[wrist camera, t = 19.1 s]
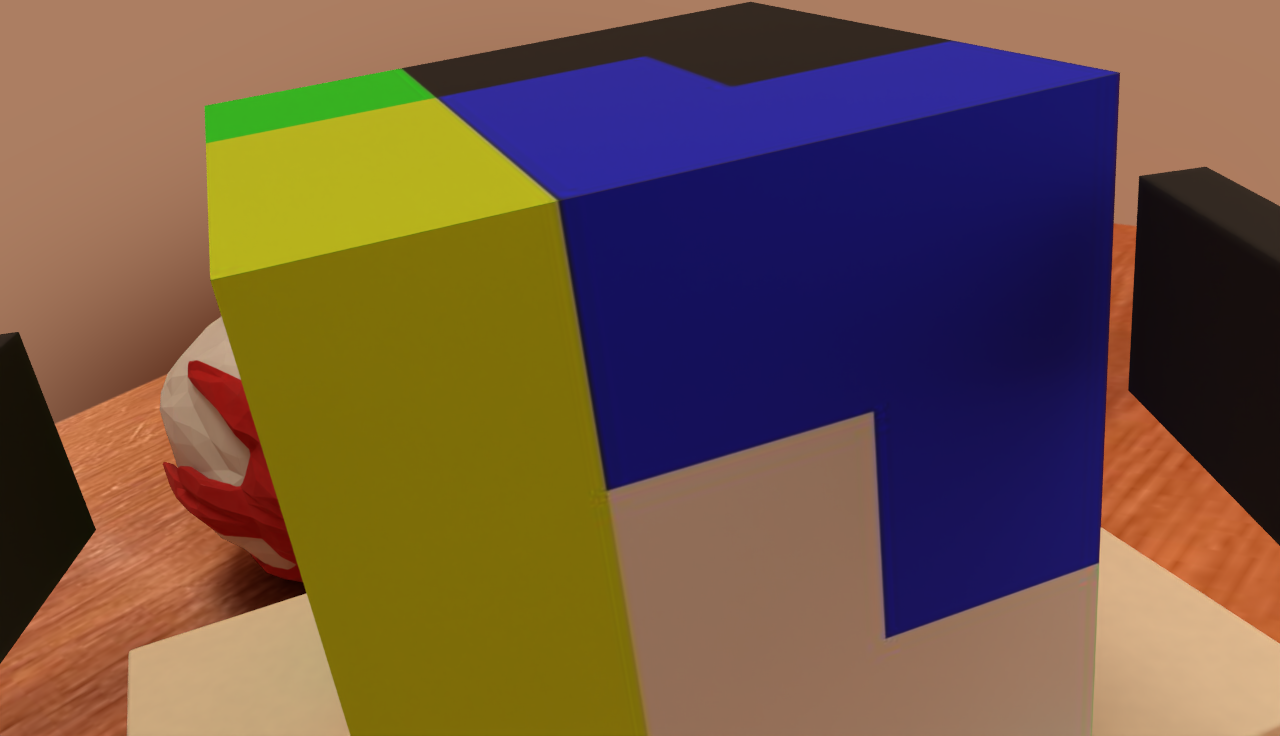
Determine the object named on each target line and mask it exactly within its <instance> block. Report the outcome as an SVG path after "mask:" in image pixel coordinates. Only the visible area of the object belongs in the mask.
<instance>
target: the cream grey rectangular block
mask: <svg viewBox="0 0 1280 736" xmlns="http://www.w3.org/2000/svg"><path fill="white" fill-rule="evenodd" d="M127 736H350V733H349V730H348V726H347V723H346V720H345V717H344V713H343V710H342V707H341V703H340V700H339V697H338V694H337V690H336V687H335V684H334V681H333V677H332V674H331V671H330V668H329V664H328V661H327V658H326V655H325V651H324V648H323V645H322V642H321V638H320V635H319V632H318V629H317V625H316V622H315V619H314V616H313V612H312V609H311V606H310V603H309V599H308V596H307V593H306V594H303V595H300V596H297V597H294V598H290V599H287V600H284V601H281V602H278V603H275V604H272V605H269V606H266V607H263V608H260V609H256V610H253V611H250V612H247V613H244V614H241V615H238V616H235V617H232V618H229V619H225V620H222V621H219V622H216V623H213V624H210V625H207V626H204V627H201V628H198V629H195V630H191V631H188V632H185V633H182V634H179V635H176V636H173V637H170V638H167V639H164V640H161V641H157V642H154V643H151V644H148V645H145V646H142V647H139V648H136V649H133V650H131V651H130V652H129V655H128V703H127ZM1092 736H1280V644H1279V643H1278V642H1276V641H1275V640H1273V639H1272V638H1270V637H1268V636H1267V635H1265V634H1264V633H1262V632H1261V631H1259V630H1258V629H1256V628H1255V627H1253V626H1252V625H1250V624H1249V623H1247V622H1245V621H1244V620H1242V619H1241V618H1239V617H1238V616H1236V615H1235V614H1233V613H1232V612H1230V611H1229V610H1227V609H1226V608H1224V607H1223V606H1221V605H1219V604H1218V603H1216V602H1215V601H1213V600H1212V599H1210V598H1209V597H1207V596H1206V595H1204V594H1203V593H1201V592H1200V591H1198V590H1196V589H1195V588H1193V587H1192V586H1190V585H1189V584H1187V583H1186V582H1184V581H1183V580H1181V579H1180V578H1178V577H1177V576H1175V575H1173V574H1172V573H1170V572H1169V571H1167V570H1166V569H1164V568H1163V567H1161V566H1160V565H1158V564H1157V563H1155V562H1154V561H1152V560H1150V559H1149V558H1147V557H1146V556H1144V555H1143V554H1141V553H1140V552H1138V551H1137V550H1135V549H1134V548H1132V547H1131V546H1129V545H1127V544H1126V543H1124V542H1123V541H1121V540H1120V539H1118V538H1117V537H1115V536H1114V535H1112V534H1111V533H1109V532H1108V531H1106V530H1104V529H1103V528H1101V532H1100V556H1099V580H1098V604H1097V627H1096V651H1095V675H1094V699H1093V723H1092Z"/></svg>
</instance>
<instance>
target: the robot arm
mask: <svg viewBox="0 0 1280 736" xmlns="http://www.w3.org/2000/svg"><path fill="white" fill-rule="evenodd" d="M1137 213H1138V214H1137V231H1136V251H1135V271H1134V291H1133V310H1132V330H1131V350H1130V370H1129V389H1128V390H1129V391H1130V392H1131V393H1132V394H1133V395H1134V396H1135V397H1136V398H1137V399H1138V400H1139V402H1140V403H1141V404H1142V405H1143V406H1144V407H1145V408H1146V409H1147V410H1148V411H1149V412H1150V413H1151V414H1152V415H1153V416H1154V417H1155V418H1156V419H1157V420H1158V421H1159V422H1160V423H1161V424H1162V425H1163V426H1164V427H1165V428H1166V429H1167V430H1168V431H1169V432H1170V433H1171V434H1172V435H1173V436H1174V437H1175V439H1176V440H1177V441H1178V442H1179V443H1180V444H1181V445H1182V446H1183V447H1184V448H1185V449H1186V450H1187V451H1188V452H1189V453H1190V454H1191V455H1192V456H1193V457H1194V458H1195V459H1196V460H1197V461H1198V462H1199V463H1200V464H1201V465H1202V466H1203V467H1204V468H1205V469H1206V470H1207V471H1208V472H1209V473H1210V475H1211V476H1212V477H1213V478H1214V479H1215V480H1216V481H1217V482H1218V483H1219V484H1220V485H1221V486H1222V487H1223V488H1224V489H1225V490H1226V491H1227V492H1228V493H1229V494H1230V495H1231V496H1232V497H1233V498H1234V499H1235V500H1236V501H1237V502H1238V503H1239V504H1240V505H1241V506H1242V507H1243V508H1244V509H1245V510H1246V512H1247V513H1248V514H1249V515H1250V516H1251V517H1252V518H1253V519H1254V520H1255V521H1256V522H1257V523H1258V524H1259V525H1260V526H1261V527H1262V528H1263V529H1264V530H1265V531H1266V532H1267V533H1268V534H1269V535H1270V536H1271V537H1272V538H1273V539H1274V540H1275V541H1276V542H1277V543H1278V544H1279V545H1280V206H1278V205H1276V204H1275V203H1273V202H1271V201H1269V200H1267V199H1265V198H1263V197H1262V196H1260V195H1257V194H1256V193H1254V192H1252V191H1250V190H1248V189H1246V188H1245V187H1243V186H1241V185H1239V184H1237V183H1235V182H1234V181H1232V180H1230V179H1228V178H1226V177H1224V176H1222V175H1220V174H1219V173H1217V172H1215V171H1213V170H1211V169H1209V168H1207V167H1201V168H1195V169H1187V170H1180V171H1172V172H1165V173H1158V174H1152V175H1144V176H1139V193H1138V212H1137ZM95 531H96V529H95V526H94V524H93V521H92V519H91V516H90V513H89V511H88V508H87V506H86V503H85V501H84V498H83V496H82V493H81V490H80V488H79V485H78V483H77V480H76V478H75V475H74V472H73V470H72V467H71V465H70V462H69V460H68V457H67V455H66V452H65V449H64V447H63V444H62V442H61V439H60V437H59V434H58V432H57V429H56V426H55V424H54V421H53V419H52V416H51V414H50V411H49V409H48V406H47V403H46V401H45V398H44V396H43V393H42V391H41V388H40V385H39V383H38V380H37V378H36V375H35V373H34V370H33V368H32V365H31V362H30V360H29V358H28V355H27V352H26V350H25V347H24V345H23V342H22V339H21V337H20V334H19V332H15V333H8V334H1V335H0V663H1V662H2V661H3V659H4V658H5V656H6V655H7V654H8V652H9V651H10V649H11V648H12V647H13V645H14V644H15V642H16V641H17V640H18V638H19V637H20V635H21V634H22V633H23V631H24V630H25V628H26V627H27V626H28V624H29V623H30V621H31V620H32V619H33V617H34V616H35V614H36V613H37V612H38V610H39V609H40V607H41V606H42V605H43V603H44V602H45V600H46V599H47V598H48V596H49V595H50V593H51V592H52V591H53V589H54V588H55V586H56V585H57V584H58V582H59V581H60V579H61V578H62V577H63V575H64V574H65V573H66V571H67V570H68V568H69V567H70V566H71V564H72V563H73V561H74V560H75V559H76V557H77V556H78V554H79V553H80V552H81V550H82V549H83V547H84V546H85V545H86V543H87V542H88V540H89V539H90V538H91V536H92V535H93V533H94V532H95Z"/></svg>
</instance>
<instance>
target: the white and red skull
mask: <svg viewBox="0 0 1280 736" xmlns="http://www.w3.org/2000/svg"><path fill="white" fill-rule="evenodd" d="M160 412H161V416H162V419H163V423H164V426H165V429H166V433H167V436H168V439H169V442H170V444H171V447H172V450H173V454H174V457H175V460H176V463H177V466H178V468H177V467H176V466H175V465H174V464H170V463H167V462H164V463H163V466H164V469H165V472H166V475H167V478H168V481H169V484H170V487H171V489H172V491H173V492H174V494H175V496H176V498H177V499H178V500H179V501H180V502H181V503H182V504H183V506H184V507H185V508H186V509H187V510H188V511H189V512H190V513H192V514H193V515H194V516H196V517H197V518H198V519H200V520H201V521H202V522H204V523H205V524H206V525H208V526H209V527H211V528H212V529H213V530H214V531H215V532H216V533H217V534H218V535H219V536H220V537H221V538H223V539H225V540H227V541H229V542H231V543H233V544H235V545H238V546H240V547H242V548H244V549H245V550H247V551H248V552H249V553H250V554H251V555H252V557H253V558H254V559H255V561H256V562H257V563H258V564H259V565H260V566H261V567H262V568H263V569H264V570H265V571H266V572H267V573H269V574H272V575H274V576H277V577H280V578H283V579H287V580H293V581H299V582H303V580H302V577H301V573H300V570H299V567H298V564H297V560H296V557H295V554H294V551H293V547H292V544H291V541H290V538H289V534H288V531H287V528H286V525H285V521H284V518H283V515H282V512H281V508H280V505H279V502H278V499H277V495H276V492H275V489H274V486H273V482H272V479H271V476H270V472H269V469H268V466H267V463H266V459H265V456H264V453H263V450H262V446H261V443H260V440H259V437H258V433H257V430H256V427H255V424H254V420H253V417H252V414H251V411H250V407H249V404H248V401H247V398H246V394H245V391H244V388H243V385H242V381H241V378H240V375H239V372H238V368H237V365H236V362H235V359H234V355H233V352H232V349H231V346H230V342H229V339H228V336H227V333H226V329H225V326H224V323H223V320H222V316H221V317H220V318H219V319H218V320H216V321H215V322H213V323H212V324H210V325H209V326H208V327H207V328H206V329H205V330H204V331H203V332H202V334H201V335H200V336H199V337H198V338H197V339H196V340H195V341H194V342H193V344H192V345H191V346H190V347H189V348H188V349H187V350H186V351H185V353H184V354H183V355H182V356H181V357H180V358H179V359H178V361H177V362H176V363H175V365H174V366H173V367H172V369H171V370H170V371H169V373H168V375H167V377H166V380H165V383H164V386H163V389H162V391H161V400H160Z"/></svg>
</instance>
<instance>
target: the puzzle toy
mask: <svg viewBox="0 0 1280 736" xmlns="http://www.w3.org/2000/svg"><path fill="white" fill-rule="evenodd" d="M1119 81H1120V73H1118V72H1113V71H1108V70H1103V69H1098V68H1092V67H1087V66H1082V65H1076V64H1072V63H1066V62H1061V61H1056V60H1051V59H1045V58H1040V57H1035V56H1030V55H1025V54H1020V53H1014V52H1009V51H1004V50H999V49H993V48H988V47H983V46H977V45H973V44H967V43H962V42H957V41H951V40H946V39H941V38H936V37H931V36H925V35H920V34H915V33H910V32H904V31H900V30H894V29H889V28H884V27H879V26H874V25H868V24H862V23H857V22H853V21H847V20H842V19H837V18H832V17H827V16H821V15H816V14H811V13H805V12H801V11H795V10H789V9H785V8H780V7H775V6H769V5H764V4H759V3H754V2H747V3H742V4H737V5H732V6H726V7H721V8H716V9H711V10H706V11H700V12H695V13H690V14H685V15H679V16H674V17H669V18H664V19H659V20H653V21H648V22H643V23H638V24H632V25H627V26H622V27H616V28H611V29H606V30H601V31H595V32H590V33H585V34H580V35H575V36H569V37H564V38H559V39H554V40H548V41H543V42H538V43H533V44H527V45H522V46H517V47H512V48H507V49H501V50H496V51H491V52H486V53H480V54H475V55H470V56H465V57H460V58H454V59H449V60H443V61H438V62H433V63H428V64H422V65H417V66H412V67H407V68H402V69H396V70H391V71H386V72H381V73H376V74H370V75H365V76H359V77H354V78H349V79H344V80H338V81H333V82H328V83H323V84H317V85H312V86H307V87H302V88H297V89H291V90H286V91H281V92H275V93H271V94H265V95H260V96H254V97H249V98H244V99H239V100H233V101H228V102H223V103H218V104H212V105H208V106H205V125H206V126H205V129H206V160H207V190H208V219H209V220H208V221H209V253H210V281H211V284H212V287H213V290H214V293H215V296H216V300H217V303H218V307H219V309H220V313H221V316H222V320H223V323H224V326H225V329H226V333H227V336H228V339H229V342H230V346H231V349H232V352H233V355H234V359H235V362H236V365H237V368H238V372H239V375H240V378H241V381H242V385H243V388H244V391H245V394H246V398H247V401H248V404H249V407H250V411H251V414H252V417H253V420H254V424H255V427H256V430H257V433H258V437H259V440H260V443H261V446H262V450H263V453H264V456H265V459H266V463H267V466H268V469H269V472H270V476H271V479H272V482H273V486H274V489H275V492H276V495H277V499H278V502H279V505H280V508H281V512H282V515H283V518H284V521H285V525H286V528H287V531H288V534H289V538H290V541H291V544H292V547H293V551H294V554H295V557H296V560H297V564H298V567H299V570H300V573H301V577H302V580H303V583H304V586H305V590H306V593H307V596H308V599H309V603H310V606H311V609H312V612H313V616H314V619H315V622H316V625H317V629H318V632H319V635H320V638H321V642H322V645H323V648H324V651H325V655H326V658H327V661H328V664H329V668H330V671H331V674H332V677H333V681H334V684H335V687H336V690H337V694H338V697H339V700H340V703H341V707H342V710H343V713H344V717H345V720H346V723H347V726H348V730H349V733H350V736H1092V723H1093V699H1094V675H1095V651H1096V627H1097V604H1098V580H1099V556H1100V532H1101V509H1102V485H1103V461H1104V437H1105V413H1106V390H1107V366H1108V342H1109V318H1110V295H1111V271H1112V247H1113V223H1114V221H1113V220H1114V199H1115V176H1116V150H1117V128H1118V104H1119Z"/></svg>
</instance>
